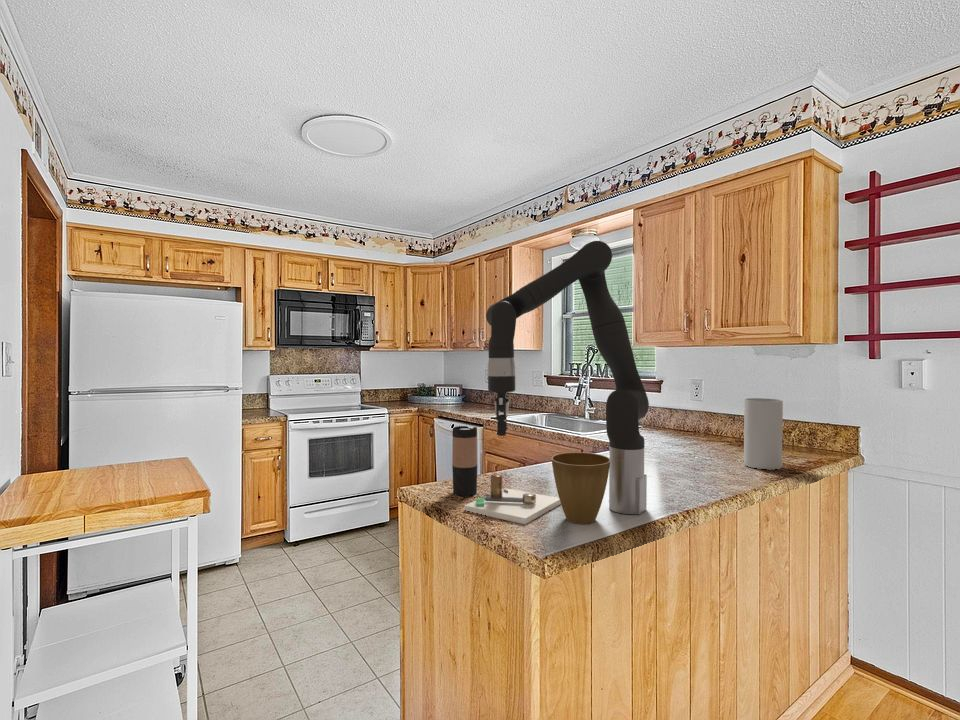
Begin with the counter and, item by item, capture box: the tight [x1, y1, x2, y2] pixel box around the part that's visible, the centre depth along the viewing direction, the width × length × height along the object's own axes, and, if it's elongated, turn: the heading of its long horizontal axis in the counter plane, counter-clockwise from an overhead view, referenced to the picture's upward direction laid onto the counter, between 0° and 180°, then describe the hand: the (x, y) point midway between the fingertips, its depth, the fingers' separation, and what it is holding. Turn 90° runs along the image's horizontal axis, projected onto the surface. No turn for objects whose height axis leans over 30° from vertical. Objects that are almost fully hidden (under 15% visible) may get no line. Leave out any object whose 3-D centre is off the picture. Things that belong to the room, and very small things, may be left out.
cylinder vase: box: [743, 397, 784, 471], centre depth 192 cm, size 12×12×25 cm
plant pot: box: [550, 451, 610, 525], centre depth 133 cm, size 15×15×16 cm
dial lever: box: [486, 473, 536, 504], centre depth 142 cm, size 14×4×7 cm, turn 82°
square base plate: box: [463, 487, 561, 525], centre depth 144 cm, size 20×21×2 cm
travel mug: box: [451, 425, 478, 497], centre depth 157 cm, size 8×8×20 cm
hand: (502, 433), depth 142 cm, fingers open, 8 cm apart
